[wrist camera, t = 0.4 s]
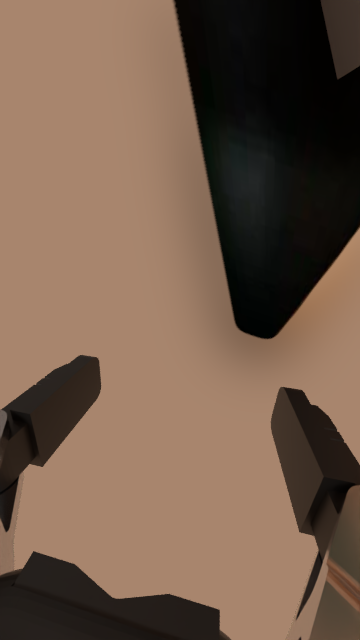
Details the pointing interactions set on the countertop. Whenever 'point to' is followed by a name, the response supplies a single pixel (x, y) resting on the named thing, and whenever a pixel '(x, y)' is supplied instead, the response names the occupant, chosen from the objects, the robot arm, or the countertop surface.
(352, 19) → the storage box
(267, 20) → the countertop surface
